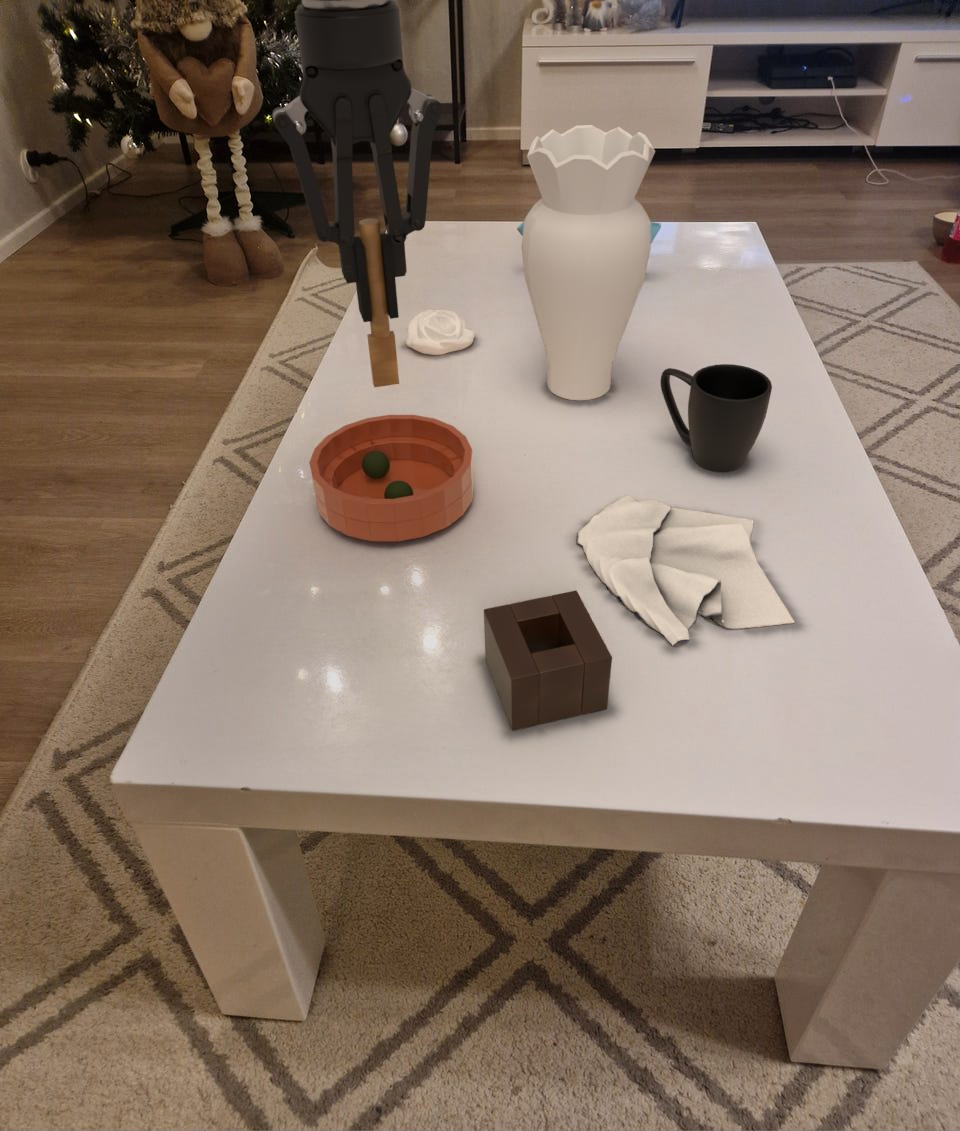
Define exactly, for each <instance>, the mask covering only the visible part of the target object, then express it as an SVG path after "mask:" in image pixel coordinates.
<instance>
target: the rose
mask: <svg viewBox="0 0 960 1131" xmlns="http://www.w3.org/2000/svg"><path fill="white" fill-rule="evenodd" d="M406 332H407V337H406V339H405V344H406V346H407V347H408V348H411V349H413V350H414V351H416V352H419V353H421V354H424V355H431V356H432V355H433V356H440V355H441V356H442V355H446V354H449V353H452V352H456V351H463V350H464V349H466V348H469V347H470V346H471V345H472V344H473V343H474V339H475V336H476V332H475V331H474V330H473V329H471V328H467V323H466V320H464V319H463V318H461V317H460V316H459V315H458V314H456V313H455V312H454V311H453V310H444V309H437V310H436V309H426V310H423V311H421V312H419V313H417V314H415V316H414V317H413V318H412V319H411V321H410V322H409V323H408V326H407V329H406Z"/></svg>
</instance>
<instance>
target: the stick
mask: <svg viewBox="0 0 960 1131" xmlns="http://www.w3.org/2000/svg"><path fill="white" fill-rule="evenodd" d="M358 227H359V237H360V239H361V242H362V243H363V245H364V250H365V259H366V268H367V277H368V286H369V295H370V305H371V314H372V321H370V322H369V324H370V333H368V334H366V335H367V345H368V352H369V361H370V369H371V371H370V372H371V378H372V385H373V388H381V387H387V386H393V385H394V386H395V385H400V377H399V376H400V374H399V364H398V355H397V354H398V353H397V344H396V334H395V331H394V330H391V326H390V325H391V324H390V317H389V315H388V307H387V297H386V287H385V277H384V266H383V256H382V246H381V234H382V233H381V224H380V220H379V219H377V218H374V217H373V218H371V217H370V218H363V219H361V220H359V222H358Z"/></svg>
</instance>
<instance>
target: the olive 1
mask: <svg viewBox="0 0 960 1131" xmlns="http://www.w3.org/2000/svg"><path fill="white" fill-rule="evenodd" d="M389 467H390V462H389V459H388V457H387V456H386V455H385V454H384V453H382V452H380V451H371V452H369V453H367V454H366V455H365V456H364V458H363V460H362V468H363V471H364V473H365V474H366V475H367V476H369V477H371V478H375V479H377V478H381V477H383V476H385V475H386V474H387V472H388V471H389Z"/></svg>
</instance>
